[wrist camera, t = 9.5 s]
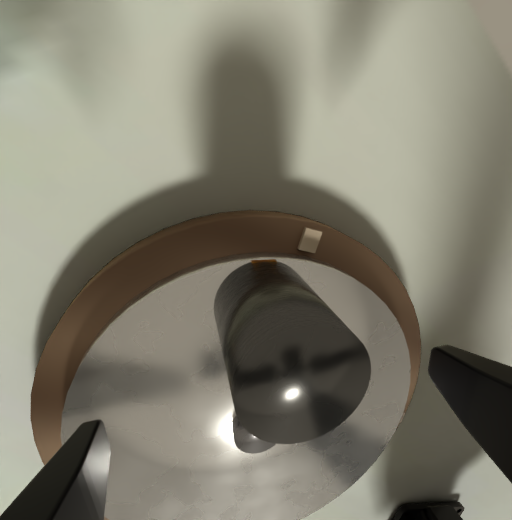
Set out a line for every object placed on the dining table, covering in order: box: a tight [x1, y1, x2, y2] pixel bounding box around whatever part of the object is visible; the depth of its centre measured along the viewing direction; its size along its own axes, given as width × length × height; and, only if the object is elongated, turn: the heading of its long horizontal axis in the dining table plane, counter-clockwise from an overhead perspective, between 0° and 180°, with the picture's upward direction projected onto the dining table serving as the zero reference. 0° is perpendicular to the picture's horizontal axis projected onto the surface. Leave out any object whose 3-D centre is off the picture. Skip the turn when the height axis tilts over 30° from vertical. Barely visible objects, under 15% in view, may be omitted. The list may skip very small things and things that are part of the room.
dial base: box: [31, 210, 421, 520], centre depth 17 cm, size 20×20×2 cm
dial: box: [61, 252, 411, 520], centre depth 14 cm, size 17×17×6 cm
